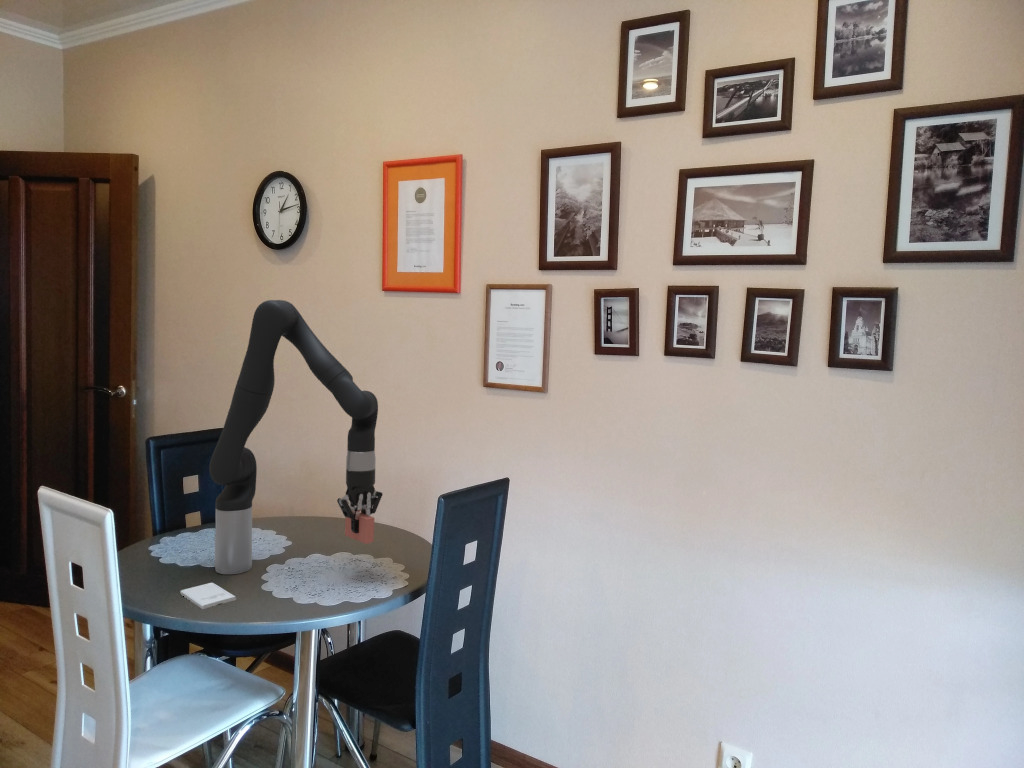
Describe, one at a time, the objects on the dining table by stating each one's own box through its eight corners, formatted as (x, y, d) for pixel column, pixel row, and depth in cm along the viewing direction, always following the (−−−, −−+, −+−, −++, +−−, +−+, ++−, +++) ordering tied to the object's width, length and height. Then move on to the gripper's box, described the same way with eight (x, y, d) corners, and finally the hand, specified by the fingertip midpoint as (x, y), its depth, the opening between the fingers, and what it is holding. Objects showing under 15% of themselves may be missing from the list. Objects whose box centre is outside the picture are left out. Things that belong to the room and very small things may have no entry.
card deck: (344, 535, 184) (345, 511, 183) (352, 533, 186) (353, 510, 185) (366, 543, 178) (367, 519, 177) (373, 541, 180) (374, 517, 179)
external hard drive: (213, 588, 175) (236, 602, 166) (180, 596, 169) (202, 611, 160) (213, 582, 175) (236, 595, 166) (180, 590, 169) (202, 604, 160)
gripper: (372, 461, 188) (371, 523, 189) (330, 468, 177) (329, 534, 179) (390, 465, 183) (389, 529, 184) (347, 472, 172) (346, 540, 174)
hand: (359, 531), depth 181 cm, fingers closed on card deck, 2 cm apart
